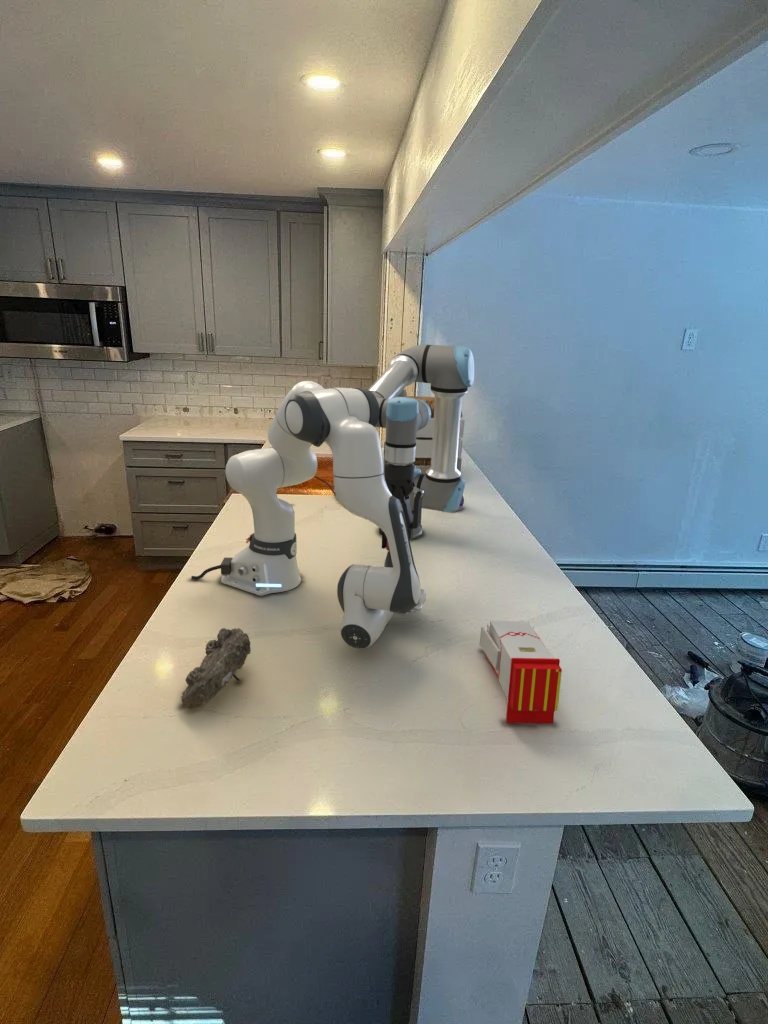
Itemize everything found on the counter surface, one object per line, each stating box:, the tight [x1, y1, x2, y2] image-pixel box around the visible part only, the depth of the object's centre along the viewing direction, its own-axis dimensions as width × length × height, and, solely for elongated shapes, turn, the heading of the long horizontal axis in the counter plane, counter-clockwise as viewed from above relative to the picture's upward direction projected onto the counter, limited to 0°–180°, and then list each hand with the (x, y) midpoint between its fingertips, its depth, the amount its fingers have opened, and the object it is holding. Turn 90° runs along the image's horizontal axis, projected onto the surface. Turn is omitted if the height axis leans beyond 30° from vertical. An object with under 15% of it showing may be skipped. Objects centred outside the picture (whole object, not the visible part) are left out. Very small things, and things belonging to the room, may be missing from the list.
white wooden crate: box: [383, 388, 465, 474], centre depth 268 cm, size 34×33×41 cm
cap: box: [385, 540, 390, 552], centre depth 146 cm, size 5×5×2 cm
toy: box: [478, 620, 563, 725], centre depth 121 cm, size 12×13×30 cm
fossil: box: [180, 627, 252, 709], centre depth 117 cm, size 22×10×15 cm
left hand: (394, 580), depth 151 cm, fingers closed on bottle, 5 cm apart
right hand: (395, 548), depth 147 cm, fingers open, 5 cm apart
